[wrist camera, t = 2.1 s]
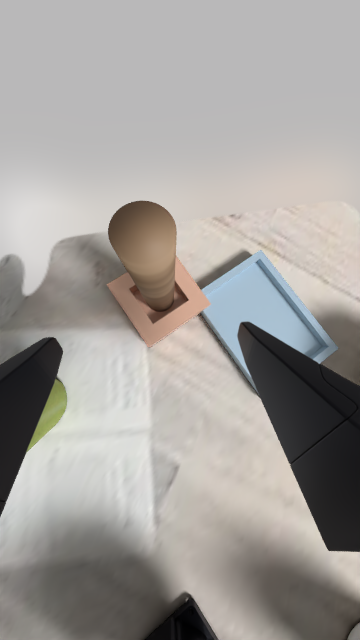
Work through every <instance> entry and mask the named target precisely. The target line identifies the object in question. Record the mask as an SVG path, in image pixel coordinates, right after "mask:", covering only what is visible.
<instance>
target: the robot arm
mask: <svg viewBox="0 0 360 640" xmlns="http://www.w3.org/2000/svg"><path fill="white" fill-rule="evenodd" d="M237 338H238V341H239V345H240V348H241V351H242V354H243V357H244V361H245V364H246V366H247V369H248V371H249V373H250V375H251V378H252V380H253V382H254V385H255V387H256V389H257V391H258V394H259V396H260V398H261V400H262V403H263V405H264V407H265V409H266V412H267V414H268V416H269V418H270V421H271V423H272V425H273V428H274V430H275V432H276V434H277V437H278V439H279V441H280V443H281V446H282V448H283V450H284V452H285V455H286V457H287V459H288V461H289V464H291V465H290V466H291V469H292V471H293V473H294V475H295V478H296V480H297V482H298V484H299V487H300V489H301V491H302V493H303V496H304V498H305V500H306V502H307V505H308V507H309V509H310V512H311V514H312V516H313V518H314V521H315V523H316V525H317V527H318V530H319V532H320V534H321V536H322V539H323V541H324V543H325V545H326V547H327V549H328V551H350V552H360V386H359V385H357V384H355V383H353V382H351V381H349V380H347V379H346V378H344V377H342V376H340V375H339V374H337V373H335V372H333V371H332V370H330V369H328V368H327V367H325V366H323V365H322V364H319V363H318V362H316V361H315V360H313V359H311V358H310V357H308V356H306V355H305V354H303V353H301V352H300V351H298V350H296V349H295V348H293V347H291V346H290V345H288V344H286V343H285V342H283V341H281V340H279V339H278V338H276V337H274V336H273V335H271V334H269V333H268V332H266V331H264V330H263V329H261V328H259V327H258V326H256V325H254V324H253V323H251V322H249V321H246V322H241V323H240V325H239V329H238V334H237ZM62 355H63V350H62V348H61V346H60V344H59V343H58V341H57V340H56V338H54V337H48V338H43V339H41V340H40V341H38V342H36V343H35V344H33V345H32V346H30V347H28V348H27V349H25V350H24V351H22V352H20V353H19V354H17V355H15V356H14V357H12V358H11V359H9V360H7V361H6V362H4V363H2V364H1V365H0V516H1V514H2V511H3V509H4V506H5V504H6V501H7V499H8V496H9V494H10V491H11V489H12V486H13V484H14V481H15V479H16V477H17V474H18V472H19V469H20V467H21V464H22V462H23V459H24V457H25V454H26V452H27V449H28V447H29V445H30V442H31V440H32V437H33V435H34V432H35V430H36V427H37V425H38V422H39V420H40V417H41V415H42V413H43V410H44V408H45V405H46V403H47V400H48V398H49V395H50V393H51V390H52V388H53V385H54V383H55V379H56V376H57V373H58V369H59V365H60V362H61V358H62ZM145 640H217V638H216V636H215V635H214V633H213V631H212V630H211V628H210V626H209V625H208V623H207V621H206V620H205V618H204V616H203V615H202V613H201V611H200V610H199V608H198V606H197V605H196V603H195V601H194V600H192V599H189V600H188V601H187V602H185V603H184V604H183V605H182V606H181V607H180V608H179V609H178V610H177V611H176V612H175V613H174V614H172V615H171V616H170V617H169V618H168V619H167V620H166V621H165V622H164V623H163V624H162V625H161V626H160V627H158V628H157V629H156V630H155V631H154V632H153V633H152V634H151V635H150V636H149V637H148V638H147V639H145Z"/></svg>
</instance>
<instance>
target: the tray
mask: <svg viewBox="0 0 360 640" xmlns="http://www.w3.org/2000/svg"><path fill="white" fill-rule="evenodd" d="M201 291H202V292H203V294H204V295H205V296H206V298H207V299H208V300H209V302H210V303H211V305H210V306H208V307H207V308H205V309H204V310H203V311H202V312H201V315H202V316H203V317H204V319H205V320H206V322H207V323H208V324H209V326H210V327H211V329H212V330H213V331H214V333H215V334H216V336H217V337H218V338H219V340H220V341H221V343H222V344H223V345H224V347H225V348H226V350H227V351H228V352H229V354H230V355H231V357H232V358H233V359H234V361H235V362H236V364H237V365H238V366H239V368H240V369H241V371H242V372H243V373H244V375H245V376H246V378H247V379H248V380H249V382H250V383H251V385H252V386H253V387H254V389H255V390H256V391H257V389H256V387H255V385H254V382H253V380H252V378H251V375H250V373H249V371H248V369H247V366H246V364H245V361H244V357H243V354H242V351H241V348H240V345H239V341H238V338H237V334H238V329H239V325H240V323H241V322H246V321H249V322H251V323H253V324H254V325H256V326H258V327H259V328H261V329H263V330H264V331H266V332H268V333H269V334H271V335H273V336H274V337H276V338H278V339H279V340H281V341H283V342H285V343H286V344H288V345H290V346H291V347H293V348H295V349H296V350H298V351H300V352H301V353H303V354H305V355H306V356H308V357H310V358H311V359H313V360H315V361H316V362H318V363H319V364H320V363H321V362H323V361H324V360H325V359H326V358H327V357H329V356H330V355H331V354H332V353H334V352H335V351H336V350H337V349H338V347H337V346H336V344H335V343H334V342H333V341H332V339H331V338H330V337H329V335H328V334H327V333H326V332H325V330H324V329H323V328H322V327H321V325H320V324H319V323H318V321H317V320H316V319H315V318H314V316H313V315H312V314H311V313H310V311H309V310H308V309H307V307H306V306H305V305H304V304H303V302H302V301H301V300H300V299H299V297H298V296H297V295H296V294H295V292H294V291H293V290H292V288H291V287H290V286H289V285H288V283H287V282H286V281H285V280H284V278H283V277H282V276H281V274H280V273H279V272H278V271H277V269H276V268H275V267H274V266H273V264H272V263H271V262H270V260H269V259H268V258H267V257H266V255H265V254H264V253H263V252H262V250H260V251H258V252H257V253H255V254H254V255H252V256H251V257H249V258H248V259H246V260H245V261H243V262H242V263H240V264H239V265H237V266H236V267H234V268H233V269H231V270H230V271H228V272H227V273H226V274H224V275H223V276H221V277H220V278H218V279H217V280H215V281H214V282H212V283H211V284H209V285H208V286H206V287H205V288H203V289H202V290H201ZM257 393H258V391H257Z"/></svg>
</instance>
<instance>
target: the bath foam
mask: <svg viewBox="0 0 360 640" xmlns="http://www.w3.org/2000/svg"><path fill="white" fill-rule="evenodd" d="M347 640H360V623H358V624H357V625H356V626H355V627H354V628H353V629H352V631H351V633H350V634H349V636H348V639H347Z"/></svg>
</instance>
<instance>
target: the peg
mask: <svg viewBox="0 0 360 640" xmlns="http://www.w3.org/2000/svg"><path fill="white" fill-rule="evenodd" d="M108 235H109V240H110V243H111V245H112V247H113V248H114V250H115V252H116V253H117V255H118V257H119V258H120V260H121V262H122V263H123V265H124V267H125V268H126V270H127V271H128V273H129V275H130V276H131V278H132V280H133V281H134V283H135V285H136V286H137V288H138V289H139V291H140V293H141V294H142V296H143V298H144V299H145V301H146V303H147V304H148V306H149V307H150V308H151V309H152V310H154V311H156V312H164V311H166V310H168V309H169V308H170V307H171V306H172V305H173V302H174V287H175V260H176V224H175V221H174V219H173V217H172V216H171V214H170V213H169V212H168V211H167V210H166V209H165V208H163V207H162V206H160V205H158V204H156V203H153V202H149V201H136V202H131V203H128V204H126V205H124V206H123V207H121V208H120V209H119V210H118V211H117V212H116V213H115V214H114V215H113V217H112V219H111V221H110V224H109V228H108Z"/></svg>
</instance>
